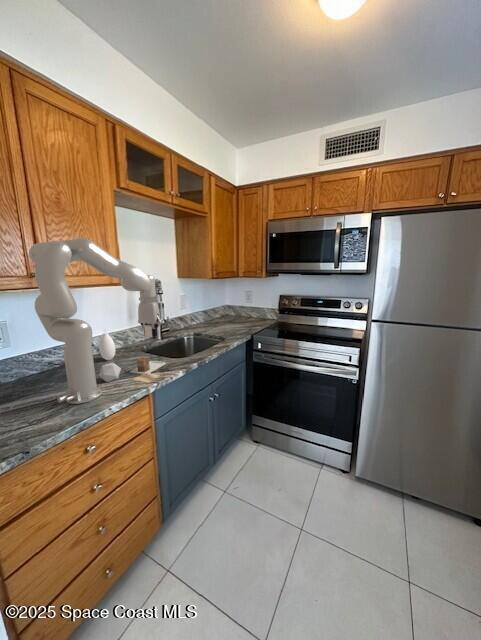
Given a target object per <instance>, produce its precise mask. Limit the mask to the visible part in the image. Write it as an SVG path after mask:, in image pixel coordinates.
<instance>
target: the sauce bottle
mask: <svg viewBox="0 0 481 640" xmlns="http://www.w3.org/2000/svg"><path fill="white" fill-rule="evenodd" d="M98 347H99V353H100V356H101V357H102V358H103V360H104V359H105V360H106V361H110V360H111V361H112V360H113V358H114V356H115V354H116V345H115V342H114V340H113V338H112V337H111V336H110V335H109V332H107V331H106V329H104V333H102V336H101V338H100V341H99V346H98Z"/></svg>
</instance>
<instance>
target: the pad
mask: <svg viewBox="0 0 481 640" xmlns="http://www.w3.org/2000/svg"><path fill="white" fill-rule="evenodd" d="M160 376H161V374H159V373H158V374H156V373H152V372H151V373H149V374H139V375H138V376H137V377H135V378H133V379H132V380H131V381H133V382H140V383H147V384H149V383H151V382H152V381H154V380H155V379H157V378H159V377H160Z"/></svg>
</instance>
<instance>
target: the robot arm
mask: <svg viewBox="0 0 481 640" xmlns="http://www.w3.org/2000/svg"><path fill="white" fill-rule="evenodd" d="M28 257H29V258H30V260H31V261H32V263H34V264H36V265H35V271H34V279H35V282H36V283H35V284H36V285H37V287H38V289H39V292H40V294H39V295H38V296H37V297H36V298H35V301H34V310H35V313H36V315H37V317H38V318H39V320H40V322H41V324H42V326H43V328H44V330H45V331H46V334H47V335H48V336H49V337H50V338H51V339H52V340H54V341H57V342H62V343H64V348H63V349H64V350H63V360H64V365H65V372H66V378H67V379H66V380H67V385H68V386H67V387H68V389H66V391H65V392H66V393H64V395H62V396H59V397H58V398H57V402H58V403H60V404H61V403H63V402H64V401H65V402H66V403H68V404H69V405H70V404H71V405H76V404H77V405H78V404H79V405H81V404H85V403H88V402H91V401H94V400H96V399H98V398H99V397H100V396H101V395H102V394H103V391H102V388H100V387H98V386H97V378H96V371H95V365H94V364H95V362H94V355H93V345H92V344H93V342H92V341H93V329H92V327H91V325H90V324H89V323H88V322H87V321H84V320H82V319H78V318H72V317H74V316H75V315H76V313H77V312H78V305H77V302H76V300H75V298H74V296H73V293H72V291H71V289H70V287H69V285H68V281H67V279H66V268H67V267H68V265H69V263H72V262H83V263H85V264H86V265H89V266H90V267H92V268H93V269H94V270H96V271H98V272H100V273H101V274H102V275H104V276H107V277H110V278H115V279H120V280H121V281H120V282H121V283H120V284H121V287H122V289H124V290H126V291H128V292H139V297H138V300H139V301H140V302H139V303H138V308H137V309H138V311H137V314H138V315H137V319H138V320H137V323H138V324H140V325H141V327H142V329H143V334H144V336H145V328H144V325H147V324H152V327H153V329H152V336H153V337H152V338H154V337H157V336H158V328H159V326H160V325H162V324H163V321H162V319H161V313H160V308H159V304H158V302H157V296H156V295H157V294H156V293H157V292H156V278H155V276H154V275H152V274H151V275H149V274H148V275H147V274H146V273H145V272H144V271H142V270H141V269H140V268H138V267H136V266H134V265H132V264H129V263H127V262H125V261H123V260H121V259H118V258H116V257H114V256H113V255H112V254H110V253H109V252H108V251H106V250H105V249H104V248H103V247H101V246H100V245H99V244H97V243H96V242H94V241H92V240H91V239H89V238H83V237H81V238H74V239H66V240H60V241H58V240H52V241H45V242H37V243H35V244H33V245H31V247H30V248H29V250H28Z"/></svg>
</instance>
